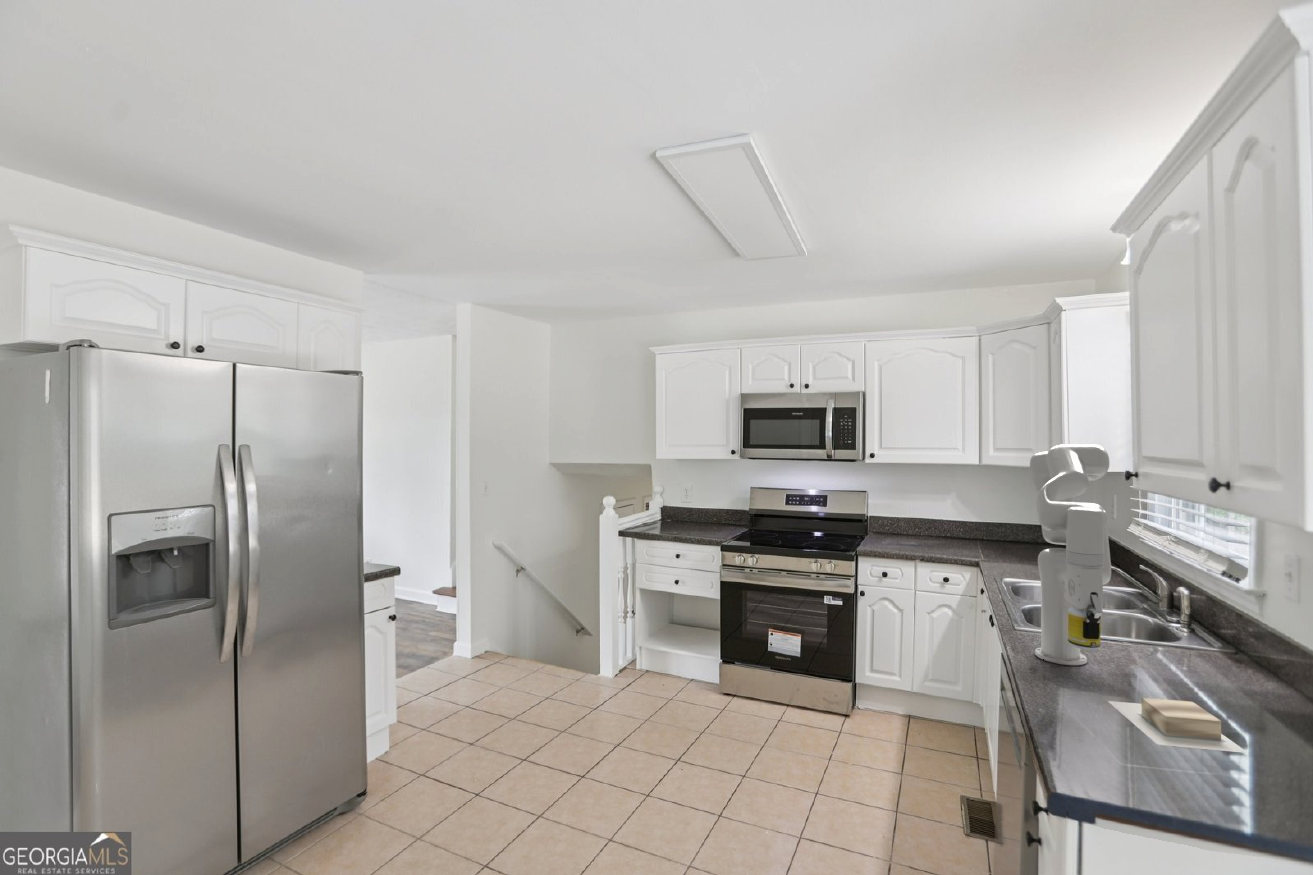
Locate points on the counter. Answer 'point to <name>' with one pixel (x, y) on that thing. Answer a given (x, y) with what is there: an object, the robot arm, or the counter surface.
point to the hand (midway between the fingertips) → (1084, 632)
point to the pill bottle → (1080, 630)
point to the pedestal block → (1181, 718)
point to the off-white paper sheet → (1135, 716)
